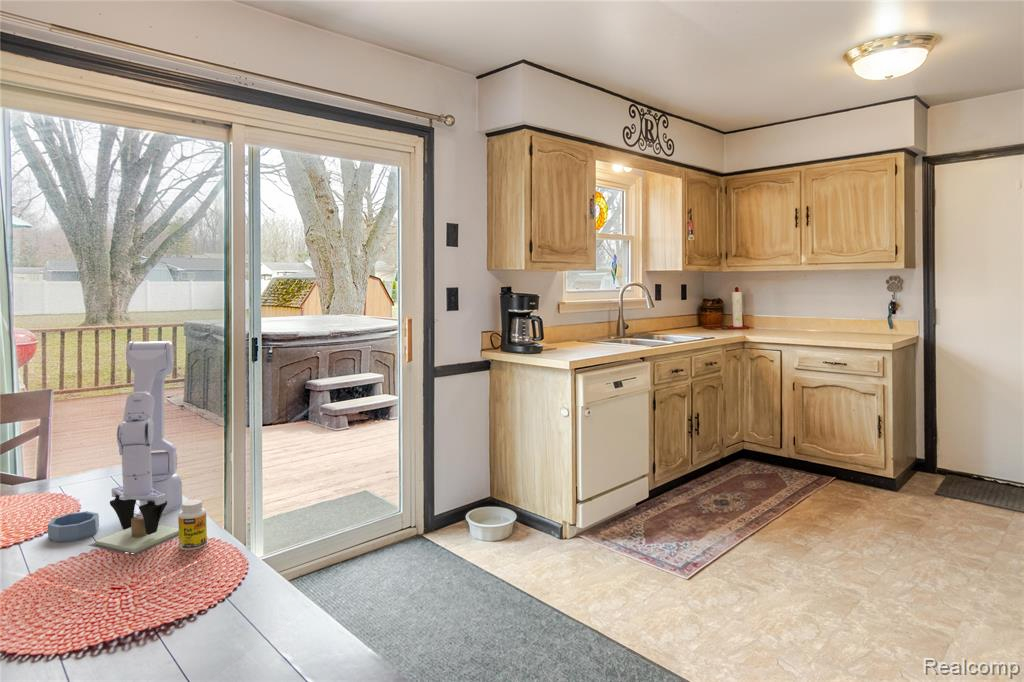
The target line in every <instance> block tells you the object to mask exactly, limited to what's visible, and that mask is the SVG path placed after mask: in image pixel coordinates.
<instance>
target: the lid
mask: <svg viewBox="0 0 1024 682" xmlns="http://www.w3.org/2000/svg"><path fill="white" fill-rule="evenodd" d="M177 534H179V527H178V528H177V527H172V526H168V525H163V524H158V528H157V532H155V533H152V534H150V535H147V533H146V530H145V522H144V518H143V515H136V516H134V517H133V518H131V527H130V528H128V529H125V530H124V529H122V530H120V531H117V532H115V533H112V534H110V535H107V536H105V537H102V538H100V539H97V540H95V543H96V544H97V545H102V546H106V547H110V548H115V549H119V550H124V551H128V552H132V553H136V552H138V551H141V550H143V549H145V548H147V547H150V546H152V545H154V544H157V543H159V542H161V541H163V540H166V539H168V538H170V537H173V536H175V535H177Z"/></svg>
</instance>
